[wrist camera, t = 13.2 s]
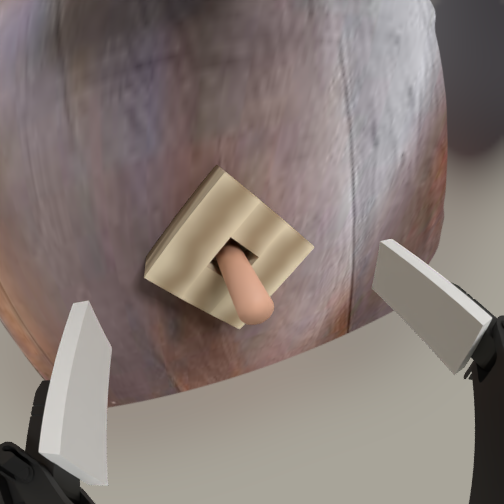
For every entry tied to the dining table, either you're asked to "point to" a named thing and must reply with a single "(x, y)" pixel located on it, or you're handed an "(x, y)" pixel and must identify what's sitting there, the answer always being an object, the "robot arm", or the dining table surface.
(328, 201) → the dining table surface
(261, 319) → the pin
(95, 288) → the dining table surface
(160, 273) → the bore block
